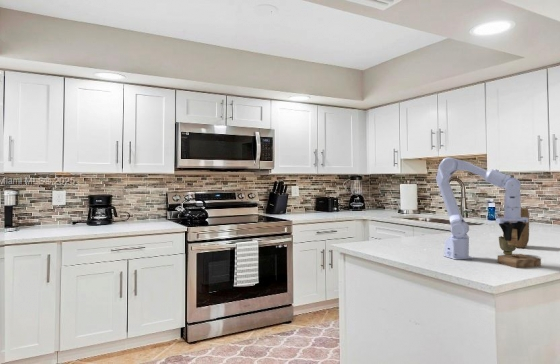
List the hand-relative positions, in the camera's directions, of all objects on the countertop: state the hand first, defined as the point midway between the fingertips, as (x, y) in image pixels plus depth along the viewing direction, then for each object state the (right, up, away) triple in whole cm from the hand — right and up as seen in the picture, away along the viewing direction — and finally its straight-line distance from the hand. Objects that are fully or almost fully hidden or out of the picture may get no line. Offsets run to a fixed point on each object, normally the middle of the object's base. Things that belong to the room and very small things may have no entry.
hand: (512, 240), depth 154 cm
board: (+1, -9, -2) cm, 10 cm away
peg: (0, -2, 0) cm, 2 cm away
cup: (+9, -9, +17) cm, 22 cm away
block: (+24, -9, +37) cm, 45 cm away
